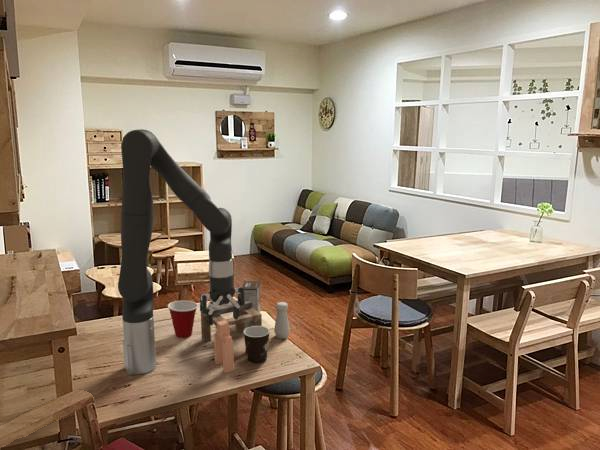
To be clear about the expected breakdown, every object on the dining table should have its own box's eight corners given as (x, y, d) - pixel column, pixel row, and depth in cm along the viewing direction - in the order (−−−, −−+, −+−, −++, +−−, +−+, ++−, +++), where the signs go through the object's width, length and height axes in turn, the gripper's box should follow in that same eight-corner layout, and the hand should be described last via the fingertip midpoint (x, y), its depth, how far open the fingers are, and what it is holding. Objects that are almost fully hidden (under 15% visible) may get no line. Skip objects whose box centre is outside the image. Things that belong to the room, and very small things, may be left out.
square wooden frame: (219, 357, 166) (218, 318, 163) (201, 339, 179) (200, 303, 176) (261, 346, 175) (261, 308, 172) (241, 329, 188) (241, 294, 185)
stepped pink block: (225, 372, 157) (223, 328, 153) (215, 362, 163) (213, 319, 160) (233, 370, 158) (232, 326, 155) (223, 359, 165) (222, 317, 162)
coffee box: (244, 318, 198) (244, 280, 194) (260, 318, 198) (260, 280, 194) (241, 328, 189) (240, 288, 185) (258, 328, 189) (258, 288, 185)
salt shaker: (281, 331, 186) (281, 299, 184) (293, 336, 183) (293, 302, 180) (270, 336, 182) (270, 303, 179) (282, 341, 178) (282, 307, 176)
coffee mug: (258, 350, 171) (258, 323, 169) (275, 359, 165) (275, 331, 163) (231, 362, 163) (230, 333, 161) (247, 371, 157) (247, 342, 155)
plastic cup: (204, 336, 182) (202, 306, 179) (175, 344, 176) (173, 312, 173) (192, 326, 190) (191, 296, 188) (165, 333, 184) (163, 302, 182)
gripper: (204, 280, 147) (206, 331, 151) (247, 272, 155) (248, 320, 158) (194, 273, 153) (197, 322, 157) (236, 266, 161) (238, 312, 164)
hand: (223, 321), depth 158 cm, fingers open, 8 cm apart
